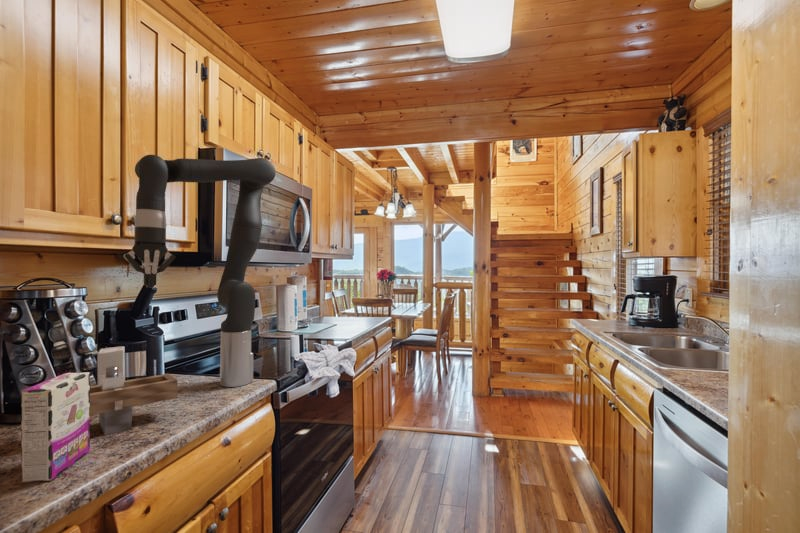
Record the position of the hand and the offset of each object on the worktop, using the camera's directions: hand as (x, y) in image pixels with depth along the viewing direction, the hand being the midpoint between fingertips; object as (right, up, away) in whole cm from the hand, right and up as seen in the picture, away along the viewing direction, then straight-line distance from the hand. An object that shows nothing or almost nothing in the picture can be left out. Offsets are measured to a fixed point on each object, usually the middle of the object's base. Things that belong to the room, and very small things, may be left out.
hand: (149, 287), depth 110 cm
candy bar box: (+7, -32, -37) cm, 50 cm away
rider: (+4, -25, -19) cm, 32 cm away
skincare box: (-8, -32, -3) cm, 33 cm away
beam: (+4, -32, -19) cm, 37 cm away
